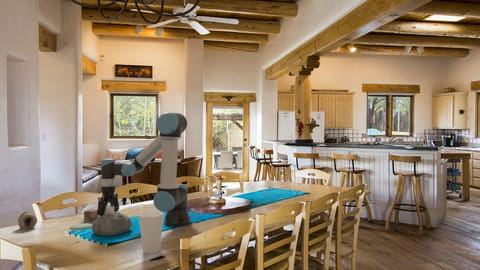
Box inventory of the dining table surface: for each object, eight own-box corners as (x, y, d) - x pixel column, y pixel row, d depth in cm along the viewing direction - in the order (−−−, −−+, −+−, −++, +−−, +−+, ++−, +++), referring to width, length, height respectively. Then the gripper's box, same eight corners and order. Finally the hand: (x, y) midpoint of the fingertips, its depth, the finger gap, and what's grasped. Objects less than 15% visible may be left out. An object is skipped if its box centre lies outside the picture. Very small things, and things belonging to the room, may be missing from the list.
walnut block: (98, 218, 217) (98, 209, 217) (93, 221, 211) (93, 211, 211) (90, 218, 218) (89, 208, 218) (84, 220, 212) (84, 211, 212)
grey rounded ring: (18, 233, 196) (12, 216, 195) (32, 226, 203) (26, 210, 203) (29, 230, 192) (22, 213, 191) (42, 223, 200) (36, 207, 199)
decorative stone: (92, 229, 194) (91, 211, 194) (131, 225, 202) (131, 208, 201) (91, 238, 178) (91, 219, 177) (133, 234, 185) (133, 215, 185)
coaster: (97, 225, 203) (97, 224, 203) (81, 230, 192) (81, 230, 192) (81, 223, 207) (81, 222, 207) (64, 228, 196) (64, 228, 196)
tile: (105, 218, 218) (105, 218, 218) (91, 223, 208) (91, 222, 208) (91, 217, 222) (91, 217, 222) (77, 221, 211) (77, 221, 211)
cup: (148, 246, 166) (148, 210, 166) (167, 248, 163) (167, 211, 163) (134, 254, 155) (134, 216, 155) (155, 256, 153) (154, 217, 152)
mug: (106, 228, 195) (106, 209, 195) (95, 225, 203) (95, 206, 203) (120, 225, 202) (120, 206, 202) (109, 222, 210) (108, 204, 209)
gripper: (115, 182, 214) (115, 219, 214) (89, 188, 194) (89, 228, 194) (125, 183, 211) (125, 220, 212) (100, 189, 191) (100, 230, 192)
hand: (108, 224), depth 203 cm, fingers closed on mug, 9 cm apart
